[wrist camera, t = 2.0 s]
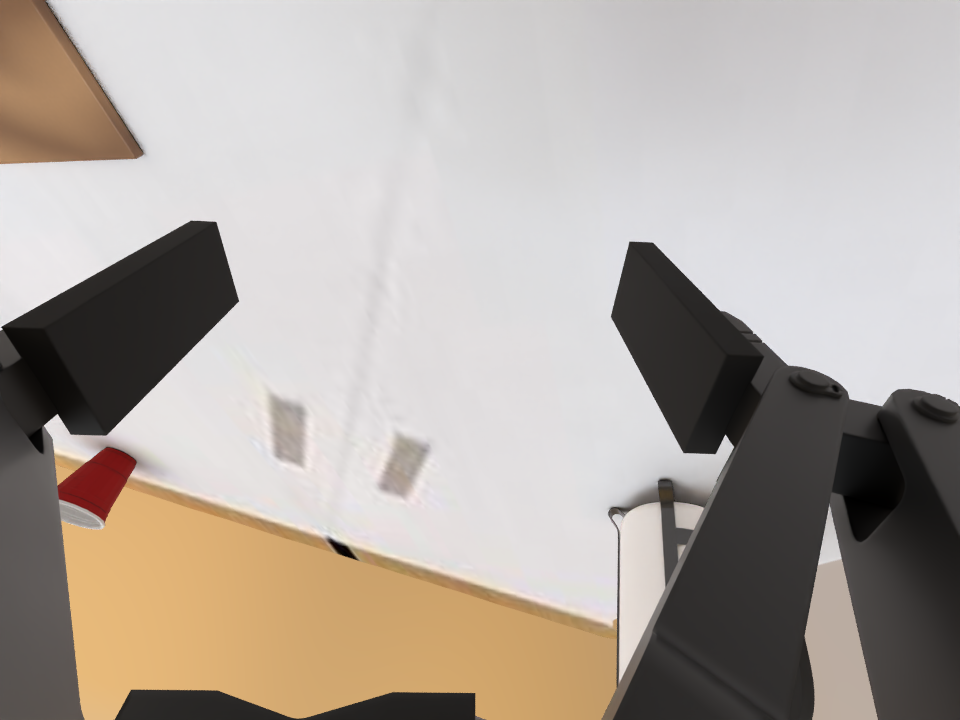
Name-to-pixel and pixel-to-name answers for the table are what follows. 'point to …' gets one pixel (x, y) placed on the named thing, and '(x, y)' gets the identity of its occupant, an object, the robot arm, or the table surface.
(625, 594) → the coffee press
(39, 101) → the wooden board
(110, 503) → the plastic cup
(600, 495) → the table surface
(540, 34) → the table surface
